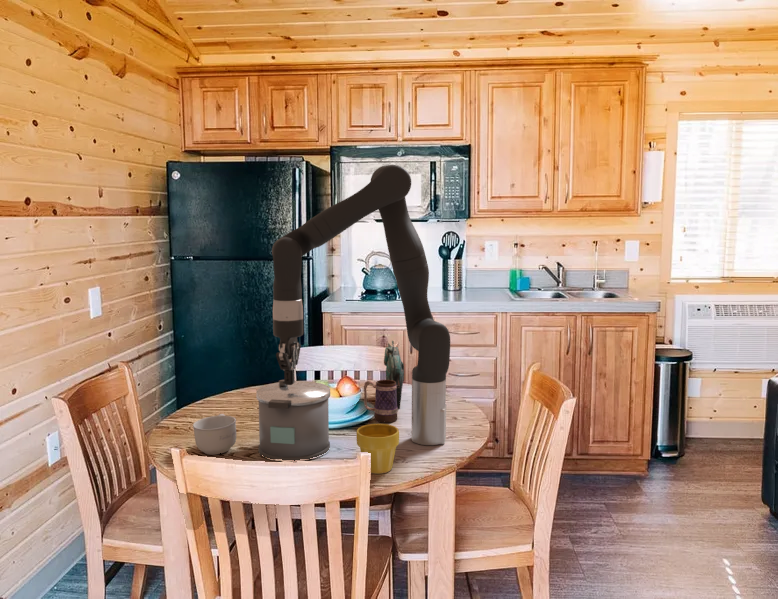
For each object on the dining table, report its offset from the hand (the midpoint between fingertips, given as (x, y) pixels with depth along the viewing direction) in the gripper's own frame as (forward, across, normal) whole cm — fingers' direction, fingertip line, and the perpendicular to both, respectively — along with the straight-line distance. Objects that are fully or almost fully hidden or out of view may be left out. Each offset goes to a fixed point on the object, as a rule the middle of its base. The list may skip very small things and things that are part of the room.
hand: (289, 384), depth 162 cm
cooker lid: (+4, +2, 0) cm, 4 cm away
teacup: (+18, 0, +20) cm, 27 cm away
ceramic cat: (+19, +51, -19) cm, 57 cm away
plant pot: (+19, -6, -24) cm, 31 cm away
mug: (+19, +31, -18) cm, 40 cm away
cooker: (+18, +3, 0) cm, 19 cm away
